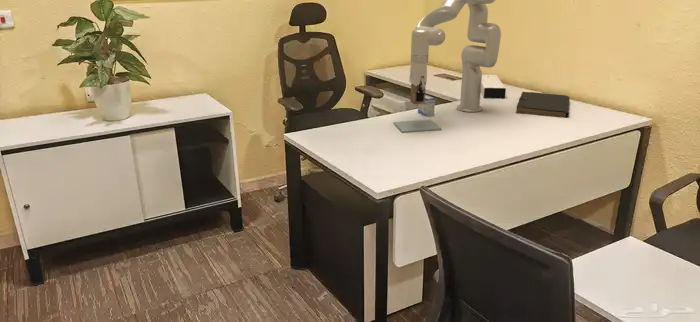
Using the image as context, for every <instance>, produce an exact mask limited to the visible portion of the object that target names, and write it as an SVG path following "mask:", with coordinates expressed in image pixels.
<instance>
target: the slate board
mask: <svg viewBox="0 0 700 322" xmlns="http://www.w3.org/2000/svg"><path fill="white" fill-rule="evenodd" d="M393 125H394V126H395V127H396V128H397V129H398V130H399V132H401V133H402V134H405V133H406V134H408V133H417V132H418V133H420V132H422V133H423V132H431V131H432V132H433V131H434V132H435V131H442V127H440V126H439V125H438V124H437V123H436V122H434V121H433V120H432V119H419V120H417V119H416V120H403V121H393Z"/></svg>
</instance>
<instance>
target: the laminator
mask: <svg viewBox="0 0 700 322" xmlns="http://www.w3.org/2000/svg"><path fill="white" fill-rule="evenodd" d="M506 91H507V88H506V86H504V84H503V83H502V81H501V79H500V78H499V76H498V75H497V74H482V82H481V94H480V95H481V96H482V98H483V99H505V98H506V94H507V92H506Z"/></svg>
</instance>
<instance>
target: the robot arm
mask: <svg viewBox="0 0 700 322" xmlns="http://www.w3.org/2000/svg"><path fill="white" fill-rule="evenodd" d="M495 1H496V0H443V1H442V3H441V5H440V6H439V7H437V8H435V9H433V10H432V11H430V12H428V13H427V14H426V15H424V16H423V17H422V18H421V19H420V21H419V22H418V24H417V25H416V27H415V28H414V29H413V30H412V31H411V43H410V46H411V47H410V67H409V83H410V85H411V84H413V85H414V86H417V93H416V101H417V102H422V101H423V100H424V89H425V90H426V87H425V86H427V77H428V69H427V68H428V66H427V65H428V63H429V55H430V53H429V51H430V47H431V46H433V47H434V46H436V47H437V46H440V45H442V44H444V42H445V40H446V33H445V31H444V30H443V29H442V28H439V27H435V26H438V25H440V24H443V23H447V22H450V21H453V20H455V19H456V18H457V17H458V15H459V13H461V10H462V9H463V7H464V6H465V5H467V6H468V9H469V17H468V25H467V33H466V34H467V35H466V36H467V40H468V41H470V42H472V43H478V44H485V46H484V45H478V44H477V45H476V44H469V45H466V46H465V47H463V49H462V50H461V55H460V56H461V66H462V71H461V73H462V74H461V88H460V90H461V91H460V99H459V100H460V102H459V104H457V105H456V109H457V110H458V111H461V112H464V113H465V112H466V113H477V112H481V111H483V106H482V105H481V104H480V103H481V95H482V94H481V82H482V75H483V73H482V68H488V69H489V68H493V67H495V65H496V64H497V61H498V59H499V58H498V57H499V53H500V52H499V51H500V45H501V39H502V38H501V37H502V31H501V28H500V26H499V25H498V24H496V23H492V22H488V18H489V9H488V6H487V5H488V4H492V3H494V2H495ZM481 67H482V68H481ZM419 84H421V85H419ZM419 87H421V88H420V89H419Z"/></svg>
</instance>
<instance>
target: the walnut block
mask: <svg viewBox="0 0 700 322" xmlns="http://www.w3.org/2000/svg"><path fill="white" fill-rule="evenodd" d="M419 85H421V84H419ZM426 86H427V85H425V89H424V100H423V101H422V102H417V101H416V93H417V86H414V85H413V84H411V83H410V100H409V101H410V103H412V104H413V105H418V104H425V95H426ZM420 88H421V87H419V89H420Z"/></svg>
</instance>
